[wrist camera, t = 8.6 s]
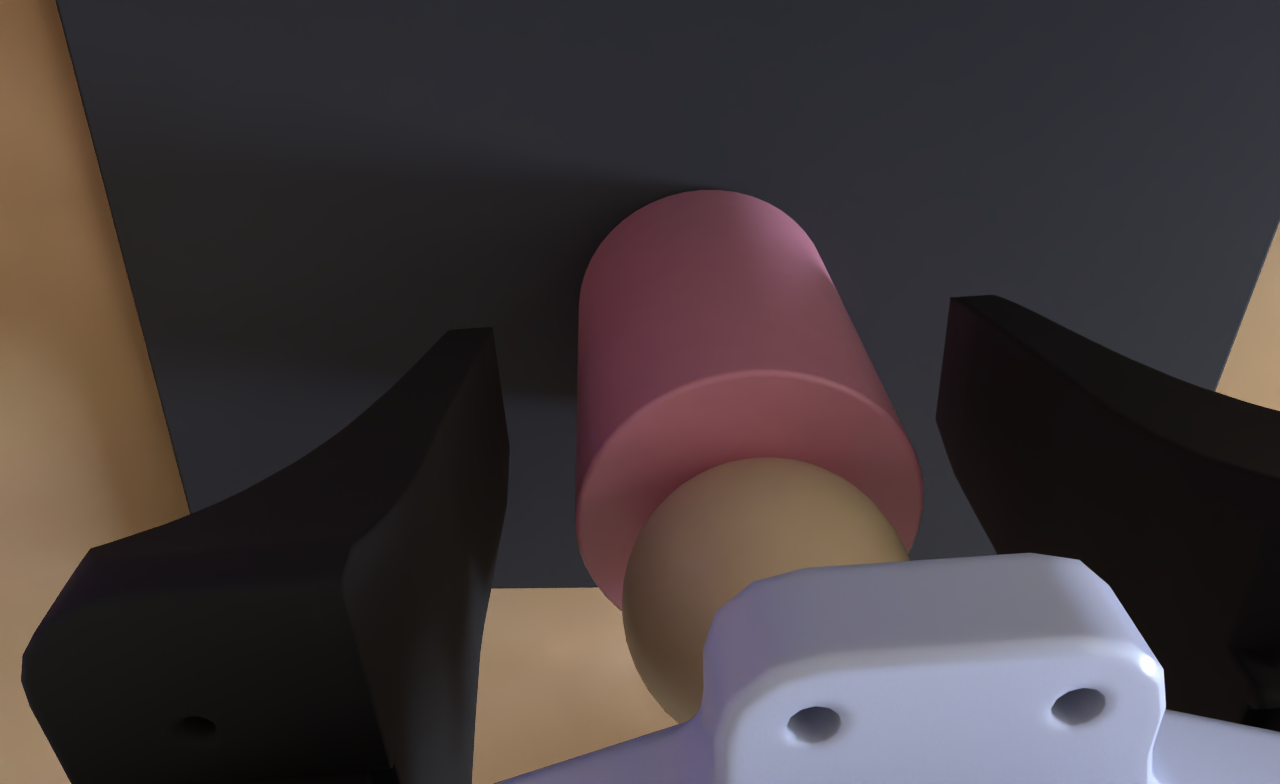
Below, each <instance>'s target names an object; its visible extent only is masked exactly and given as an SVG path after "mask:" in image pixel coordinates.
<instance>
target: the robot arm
mask: <svg viewBox="0 0 1280 784" xmlns="http://www.w3.org/2000/svg"><path fill="white" fill-rule="evenodd" d="M935 420H936V423H937V426H938V429H939V432H940V435H941V438H942V441H943V444H944V447H945V450H946V453H947V456H948V458H949V461H950V464H951V466H952V469H953V472H954V474H955V476H956V478H957V480H958V482H959V484H960V486H961V488H962V490H963V492H964V494H965V496H966V498H967V499H968V501H969V503H970V505H971V507H972V509H973V511H974V513H975V514H976V516H977V518H978V520H979V522H980V524H981V525H982V527H983V529H984V531H985V533H986V535H987V536H988V538H989V540H990V542H991V544H992V546H993V547H994V549H995V551H996V553H997V555H989V556H974V557H959V558H944V559H929V560H914V561H899V562H884V563H870V564H855V565H840V566H825V567H810V568H802V569H798V570H795V571H791V572H787V573H784V574H780V575H776V576H772V577H769V578H765V579H761V580H757V581H754V582H752V583H751V584H749V585H748V586H747V587H746V588H744V589H743V590H742V591H741V592H739V593H738V594H737V595H736V596H735V597H733V598H732V599H731V600H730V601H728V602H727V603H726V604H725V605H724V606H722V607H721V608H720V609H719V610H717V611H716V612H715V615H714V618H713V621H712V624H711V626H710V629H709V632H708V635H707V638H706V641H705V644H704V647H703V681H704V690H703V696H702V702H701V707H700V708H699V710H698V712H697V714H696V715H695V716H694V717H693V718H691V719H690V720H689V721H687V722H684V723H681V724H678V725H675V726H672V727H669V728H666V729H663V730H659V731H656V732H653V733H650V734H647V735H644V736H641V737H638V738H635V739H631V740H628V741H625V742H622V743H619V744H616V745H613V746H610V747H606V748H603V749H600V750H597V751H594V752H591V753H588V754H585V755H581V756H578V757H575V758H572V759H569V760H566V761H563V762H560V763H556V764H553V765H550V766H547V767H544V768H541V769H538V770H535V771H532V772H528V773H525V774H522V775H519V776H516V777H513V778H510V779H507V780H503V781H500V782H497V783H494V784H1280V411H1276V410H1273V409H1269V408H1265V407H1262V406H1258V405H1255V404H1251V403H1248V402H1245V401H1241V400H1238V399H1235V398H1232V397H1229V396H1226V395H1223V394H1220V393H1217V392H1214V391H1211V390H1208V389H1205V388H1203V387H1200V386H1197V385H1194V384H1191V383H1188V382H1186V381H1183V380H1180V379H1178V378H1175V377H1173V376H1170V375H1168V374H1165V373H1163V372H1160V371H1158V370H1156V369H1153V368H1151V367H1149V366H1146V365H1144V364H1142V363H1139V362H1137V361H1135V360H1132V359H1130V358H1128V357H1126V356H1124V355H1121V354H1119V353H1117V352H1115V351H1113V350H1111V349H1108V348H1106V347H1104V346H1102V345H1100V344H1098V343H1096V342H1094V341H1092V340H1090V339H1088V338H1086V337H1084V336H1082V335H1080V334H1078V333H1076V332H1074V331H1072V330H1070V329H1068V328H1066V327H1064V326H1062V325H1060V324H1058V323H1056V322H1054V321H1052V320H1050V319H1048V318H1046V317H1044V316H1042V315H1040V314H1038V313H1036V312H1034V311H1032V310H1030V309H1027V308H1025V307H1023V306H1021V305H1019V304H1017V303H1015V302H1012V301H1010V300H1007V299H1005V298H1002V297H999V296H996V295H979V296H964V297H950V305H949V313H948V321H947V329H946V337H945V345H944V353H943V361H942V369H941V378H940V386H939V394H938V402H937V410H936V418H935ZM509 454H510V445H509V438H508V431H507V425H506V418H505V411H504V404H503V397H502V390H501V383H500V376H499V369H498V362H497V355H496V348H495V341H494V334H493V327H483V328H467V329H452V330H449V331H447V332H446V333H445V334H444V335H443V336H442V337H441V338H440V339H439V340H438V341H437V342H436V343H435V344H434V345H433V346H432V347H431V348H430V349H429V350H428V351H427V352H426V354H425V355H424V356H423V357H422V358H421V359H420V360H419V361H418V362H417V363H416V364H415V365H414V366H413V367H412V368H411V369H410V370H409V371H408V372H407V373H406V374H405V375H404V376H403V377H402V378H401V379H400V380H399V381H397V382H396V383H395V384H394V385H393V386H392V387H391V388H390V389H389V390H388V391H387V392H386V393H385V394H384V395H382V396H381V397H380V398H379V399H378V400H377V401H376V402H374V403H373V404H372V405H371V406H370V407H369V408H367V409H366V410H365V411H364V412H363V413H362V414H360V415H359V416H358V417H357V418H356V419H355V420H354V421H352V422H351V423H350V424H349V425H347V426H346V427H345V428H344V429H342V430H341V431H340V432H338V433H337V434H336V435H334V436H333V437H331V438H330V439H329V440H327V441H326V442H324V443H323V444H321V445H320V446H319V447H317V448H316V449H314V450H313V451H311V452H310V453H308V454H307V455H305V456H304V457H302V458H300V459H299V460H297V461H296V462H294V463H292V464H291V465H289V466H287V467H285V468H283V469H282V470H280V471H278V472H276V473H274V474H273V475H271V476H269V477H267V478H265V479H264V480H262V481H260V482H258V483H256V484H254V485H253V486H251V487H249V488H247V489H245V490H243V491H241V492H239V493H237V494H235V495H233V496H231V497H229V498H227V499H224V500H222V501H220V502H218V503H216V504H214V505H211V506H209V507H207V508H204V509H202V510H199V511H197V512H195V513H192V514H190V515H187V516H185V517H183V518H180V519H177V520H175V521H172V522H170V523H167V524H164V525H161V526H158V527H155V528H152V529H149V530H146V531H143V532H140V533H137V534H134V535H131V536H128V537H125V538H122V539H119V540H116V541H113V542H110V543H107V544H104V545H101V546H97V547H94V548H90V550H89V551H88V553H87V554H86V555H85V557H84V558H83V559H82V561H81V562H80V564H79V565H78V567H77V568H76V570H75V571H74V573H73V574H72V576H71V577H70V579H69V580H68V582H67V583H66V585H65V586H64V588H63V589H62V591H61V592H60V594H59V595H58V597H57V599H56V600H55V602H54V603H53V605H52V606H51V608H50V609H49V611H48V612H47V614H46V615H45V617H44V619H43V620H42V622H41V623H40V625H39V626H38V628H37V629H36V631H35V632H34V634H33V636H32V638H31V640H30V642H29V644H28V646H27V648H26V650H25V652H24V654H23V657H22V674H21V682H22V685H23V688H24V691H25V694H26V696H27V699H28V702H29V705H30V707H31V709H32V711H33V713H34V715H35V717H36V719H37V721H38V722H39V724H40V726H41V728H42V730H43V732H44V734H45V735H46V737H47V739H48V741H49V743H50V745H51V747H52V749H53V750H54V752H55V754H56V756H57V758H58V760H59V762H60V763H61V765H62V767H63V769H64V771H65V773H66V775H67V776H68V778H69V780H70V782H71V784H472V767H473V751H474V734H475V717H476V703H477V689H478V675H479V662H480V650H481V643H482V636H483V629H484V623H485V618H486V612H487V607H488V602H489V597H490V592H491V587H492V581H493V576H494V571H495V566H496V561H497V556H498V551H499V545H500V540H501V535H502V529H503V524H504V519H505V513H506V507H507V497H508V479H509Z"/></svg>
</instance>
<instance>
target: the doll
mask: <svg viewBox="0 0 1280 784" xmlns="http://www.w3.org/2000/svg"><path fill="white" fill-rule="evenodd" d="M923 500H924V486H923V478H922V471H921V468H920V464H919V461H918V458H917V455H916V452H915V450H914V448H913V446H912V444H911V442H910V440H909V438H908V436H907V434H906V432H905V430H904V428H903V426H902V424H901V421H900V419H899V417H898V415H897V413H896V411H895V409H894V407H893V405H892V403H891V401H890V399H889V397H888V395H887V393H886V391H885V389H884V387H883V385H882V382H881V380H880V378H879V376H878V374H877V372H876V370H875V368H874V366H873V364H872V362H871V360H870V358H869V356H868V354H867V352H866V350H865V348H864V346H863V344H862V341H861V339H860V337H859V335H858V333H857V331H856V329H855V327H854V325H853V323H852V321H851V319H850V317H849V315H848V313H847V311H846V309H845V307H844V305H843V302H842V300H841V298H840V296H839V294H838V292H837V290H836V288H835V286H834V284H833V282H832V280H831V278H830V276H829V274H828V272H827V270H826V268H825V266H824V263H823V261H822V259H821V257H820V255H819V253H818V251H817V249H816V247H815V245H814V244H813V242H812V241H811V239H810V238H809V237H808V235H807V234H806V232H805V231H804V230H803V229H802V228H801V227H800V226H799V225H798V224H797V223H796V222H795V221H794V220H793V219H792V218H790V217H789V216H788V215H787V214H785V213H784V212H783V211H781V210H780V209H778V208H776V207H774V206H773V205H771V204H769V203H767V202H765V201H762V200H760V199H758V198H755V197H753V196H749V195H745V194H741V193H738V192H731V191H724V190H697V191H689V192H683V193H679V194H675V195H671V196H667V197H665V198H662V199H660V200H657V201H654V202H652V203H650V204H648V205H646V206H644V207H643V208H641V209H639V210H637V211H635V212H634V213H633V214H631V215H630V216H628V217H627V218H626V219H624V220H623V221H622V222H621V223H620V224H618V225H617V226H616V227H615V228H614V229H613V230H612V231H611V232H610V233H609V234H608V236H607V237H606V238H605V239H604V240H603V242H602V243H601V244H600V245H599V247H598V249H597V250H596V252H595V254H594V255H593V257H592V258H591V261H590V263H589V265H588V267H587V270H586V272H585V275H584V278H583V282H582V286H581V291H580V299H579V327H578V376H577V426H576V475H575V533H576V538H577V543H578V548H579V551H580V554H581V556H582V559H583V562H584V564H585V566H586V568H587V570H588V572H589V573H590V575H591V577H592V579H593V581H594V582H595V583H596V585H597V586H598V587H599V588H600V590H601V591H602V592H603V593H604V595H605V596H606V597H607V598H608V599H609V600H610V601H611V602H612V603H613V604H614V605H615V606H616V607H617V608H618V609H619V610H621V611H622V616H623V623H624V630H625V636H626V641H627V644H628V647H629V650H630V653H631V656H632V659H633V662H634V665H635V667H636V669H637V671H638V673H639V675H640V676H641V678H642V680H643V682H644V684H645V685H646V687H647V689H648V691H649V692H650V693H651V694H652V696H653V697H654V698H655V699H656V701H657V702H658V703H659V704H660V705H661V707H662V708H663V709H664V710H665V712H666V713H668V714H669V715H670V716H671V717H672V718H673V719H674V720H675V721H676V722H678V723H679V724H681V723H684V722H687V721H689V720H690V719H691V718H693V717H694V716H695V715H696V714H697V712H698V710H699V708H700V707H701V702H702V696H703V690H704V681H703V647H704V644H705V641H706V638H707V635H708V632H709V629H710V626H711V624H712V621H713V618H714V615H715V612H716V611H717V610H719V609H720V608H721V607H722V606H724V605H725V604H726V603H727V602H728V601H730V600H731V599H732V598H733V597H735V596H736V595H737V594H738V593H739V592H741V591H742V590H743V589H744V588H746V587H747V586H748V585H749V584H751V583H752V582H754V581H757V580H761V579H765V578H769V577H772V576H776V575H780V574H784V573H787V572H791V571H795V570H798V569H802V568H810V567H825V566H840V565H855V564H870V563H884V562H899V561H910V559H909V556H908V553H909V551H910V549H911V548H912V546H913V543H914V540H915V538H916V535H917V532H918V530H919V526H920V521H921V516H922V511H923Z"/></svg>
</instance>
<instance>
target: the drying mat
mask: <svg viewBox="0 0 1280 784" xmlns="http://www.w3.org/2000/svg"><path fill="white" fill-rule="evenodd" d="M56 4H57V8H58V12H59V16H60V20H61V23H62V27H63V31H64V35H65V39H66V42H67V46H68V50H69V54H70V58H71V61H72V65H73V69H74V73H75V77H76V80H77V84H78V88H79V92H80V96H81V100H82V103H83V107H84V111H85V115H86V119H87V122H88V126H89V130H90V134H91V138H92V141H93V145H94V149H95V153H96V157H97V161H98V164H99V168H100V172H101V176H102V180H103V183H104V187H105V191H106V195H107V199H108V202H109V206H110V210H111V214H112V218H113V221H114V225H115V229H116V233H117V237H118V241H119V244H120V248H121V252H122V256H123V260H124V263H125V267H126V271H127V275H128V279H129V282H130V286H131V290H132V294H133V298H134V302H135V305H136V309H137V313H138V317H139V321H140V324H141V328H142V332H143V336H144V340H145V343H146V347H147V351H148V355H149V359H150V362H151V366H152V370H153V374H154V378H155V382H156V385H157V389H158V393H159V397H160V401H161V404H162V408H163V412H164V416H165V420H166V423H167V427H168V431H169V435H170V439H171V443H172V446H173V450H174V454H175V458H176V462H177V465H178V469H179V473H180V477H181V481H182V484H183V488H184V492H185V496H186V500H187V503H188V507H189V511H190V514H192V513H195V512H197V511H199V510H202V509H204V508H207V507H209V506H211V505H214V504H216V503H218V502H220V501H222V500H224V499H227V498H229V497H231V496H233V495H235V494H237V493H239V492H241V491H243V490H245V489H247V488H249V487H251V486H253V485H254V484H256V483H258V482H260V481H262V480H264V479H265V478H267V477H269V476H271V475H273V474H274V473H276V472H278V471H280V470H282V469H283V468H285V467H287V466H289V465H291V464H292V463H294V462H296V461H297V460H299V459H300V458H302V457H304V456H305V455H307V454H308V453H310V452H311V451H313V450H314V449H316V448H317V447H319V446H320V445H321V444H323V443H324V442H326V441H327V440H329V439H330V438H331V437H333V436H334V435H336V434H337V433H338V432H340V431H341V430H342V429H344V428H345V427H346V426H347V425H349V424H350V423H351V422H352V421H354V420H355V419H356V418H357V417H358V416H359V415H360V414H362V413H363V412H364V411H365V410H366V409H367V408H369V407H370V406H371V405H372V404H373V403H374V402H376V401H377V400H378V399H379V398H380V397H381V396H382V395H384V394H385V393H386V392H387V391H388V390H389V389H390V388H391V387H392V386H393V385H394V384H395V383H396V382H397V381H399V380H400V379H401V378H402V377H403V376H404V375H405V374H406V373H407V372H408V371H409V370H410V369H411V368H412V367H413V366H414V365H415V364H416V363H417V362H418V361H419V360H420V359H421V358H422V357H423V356H424V355H425V354H426V352H427V351H428V350H429V349H430V348H431V347H432V346H433V345H434V344H435V343H436V342H437V341H438V340H439V339H440V338H441V337H442V336H443V335H444V334H445V333H446V332H447V331H449V330H452V329H467V328H483V327H493V334H494V341H495V348H496V355H497V362H498V369H499V376H500V383H501V390H502V397H503V404H504V411H505V418H506V425H507V431H508V438H509V445H510V454H509V479H508V497H507V507H506V513H505V519H504V524H503V529H502V535H501V540H500V545H499V551H498V556H497V561H496V566H495V571H494V576H493V581H492V587H491V588H580V587H598V586H597V585H596V583H595V582H594V581H593V579H592V577H591V575H590V573H589V572H588V570H587V568H586V566H585V564H584V562H583V559H582V556H581V554H580V551H579V548H578V543H577V538H576V533H575V475H576V426H577V376H578V327H579V299H580V291H581V286H582V282H583V278H584V275H585V272H586V270H587V267H588V265H589V263H590V261H591V258H592V257H593V255H594V254H595V252H596V250H597V249H598V247H599V245H600V244H601V243H602V242H603V240H604V239H605V238H606V237H607V236H608V234H609V233H610V232H611V231H612V230H613V229H614V228H615V227H616V226H617V225H618V224H620V223H621V222H622V221H623V220H624V219H626V218H627V217H628V216H630V215H631V214H633V213H634V212H635V211H637V210H639V209H641V208H643V207H644V206H646V205H648V204H650V203H652V202H654V201H657V200H660V199H662V198H665V197H667V196H671V195H675V194H679V193H683V192H689V191H697V190H724V191H731V192H738V193H741V194H745V195H749V196H753V197H755V198H758V199H760V200H762V201H765V202H767V203H769V204H771V205H773V206H774V207H776V208H778V209H780V210H781V211H783V212H784V213H785V214H787V215H788V216H789V217H790V218H792V219H793V220H794V221H795V222H796V223H797V224H798V225H799V226H800V227H801V228H802V229H803V230H804V231H805V232H806V234H807V235H808V237H809V238H810V239H811V241H812V242H813V244H814V245H815V247H816V249H817V251H818V253H819V255H820V257H821V259H822V261H823V263H824V266H825V268H826V270H827V272H828V274H829V276H830V278H831V280H832V282H833V284H834V286H835V288H836V290H837V292H838V294H839V296H840V298H841V300H842V302H843V305H844V307H845V309H846V311H847V313H848V315H849V317H850V319H851V321H852V323H853V325H854V327H855V329H856V331H857V333H858V335H859V337H860V339H861V341H862V344H863V346H864V348H865V350H866V352H867V354H868V356H869V358H870V360H871V362H872V364H873V366H874V368H875V370H876V372H877V374H878V376H879V378H880V380H881V382H882V385H883V387H884V389H885V391H886V393H887V395H888V397H889V399H890V401H891V403H892V405H893V407H894V409H895V411H896V413H897V415H898V417H899V419H900V421H901V424H902V426H903V428H904V430H905V432H906V434H907V436H908V438H909V440H910V442H911V444H912V446H913V448H914V450H915V452H916V455H917V458H918V461H919V464H920V468H921V471H922V478H923V486H924V500H923V511H922V516H921V521H920V526H919V530H918V532H917V535H916V538H915V540H914V543H913V546H912V548H911V549H910V551H909V553H908V556H909V559H910V561H914V560H929V559H944V558H959V557H974V556H989V555H997V553H996V551H995V549H994V547H993V546H992V544H991V542H990V540H989V538H988V536H987V535H986V533H985V531H984V529H983V527H982V525H981V524H980V522H979V520H978V518H977V516H976V514H975V513H974V511H973V509H972V507H971V505H970V503H969V501H968V499H967V498H966V496H965V494H964V492H963V490H962V488H961V486H960V484H959V482H958V480H957V478H956V476H955V474H954V472H953V469H952V466H951V464H950V461H949V458H948V456H947V453H946V450H945V447H944V444H943V441H942V438H941V435H940V432H939V429H938V426H937V423H936V420H935V418H936V410H937V402H938V394H939V386H940V378H941V369H942V361H943V353H944V345H945V337H946V329H947V321H948V313H949V305H950V297H964V296H979V295H996V296H999V297H1002V298H1005V299H1007V300H1010V301H1012V302H1015V303H1017V304H1019V305H1021V306H1023V307H1025V308H1027V309H1030V310H1032V311H1034V312H1036V313H1038V314H1040V315H1042V316H1044V317H1046V318H1048V319H1050V320H1052V321H1054V322H1056V323H1058V324H1060V325H1062V326H1064V327H1066V328H1068V329H1070V330H1072V331H1074V332H1076V333H1078V334H1080V335H1082V336H1084V337H1086V338H1088V339H1090V340H1092V341H1094V342H1096V343H1098V344H1100V345H1102V346H1104V347H1106V348H1108V349H1111V350H1113V351H1115V352H1117V353H1119V354H1121V355H1124V356H1126V357H1128V358H1130V359H1132V360H1135V361H1137V362H1139V363H1142V364H1144V365H1146V366H1149V367H1151V368H1153V369H1156V370H1158V371H1160V372H1163V373H1165V374H1168V375H1170V376H1173V377H1175V378H1178V379H1180V380H1183V381H1186V382H1188V383H1191V384H1194V385H1197V386H1200V387H1203V388H1205V389H1208V390H1211V391H1214V392H1215V390H1216V388H1217V385H1218V382H1219V380H1220V377H1221V375H1222V372H1223V369H1224V367H1225V364H1226V361H1227V359H1228V356H1229V353H1230V351H1231V348H1232V346H1233V343H1234V340H1235V338H1236V335H1237V332H1238V330H1239V327H1240V325H1241V322H1242V319H1243V317H1244V314H1245V311H1246V309H1247V306H1248V303H1249V301H1250V298H1251V296H1252V293H1253V290H1254V288H1255V285H1256V282H1257V280H1258V277H1259V275H1260V272H1261V269H1262V267H1263V264H1264V261H1265V259H1266V256H1267V253H1268V251H1269V248H1270V246H1271V243H1272V240H1273V238H1274V235H1275V232H1276V230H1277V227H1278V224H1279V222H1280V0H56Z"/></svg>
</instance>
